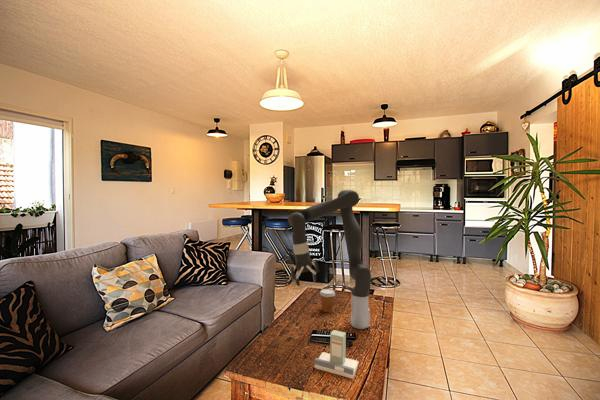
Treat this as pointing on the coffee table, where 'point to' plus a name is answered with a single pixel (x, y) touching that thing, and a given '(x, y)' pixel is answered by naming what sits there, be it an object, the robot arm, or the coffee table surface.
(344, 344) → the tea box
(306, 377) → the coffee table surface
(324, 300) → the disposable coffee cup
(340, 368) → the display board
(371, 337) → the coffee table surface
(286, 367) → the coffee table surface
